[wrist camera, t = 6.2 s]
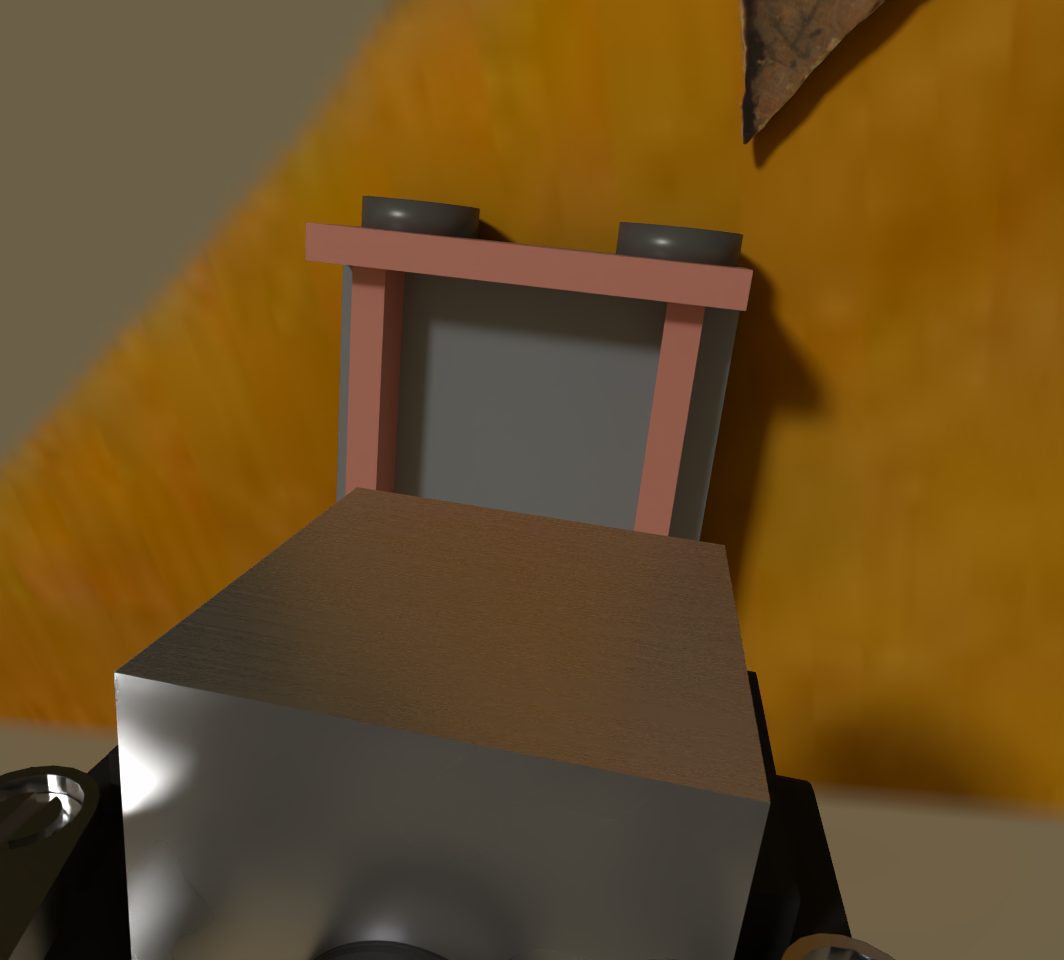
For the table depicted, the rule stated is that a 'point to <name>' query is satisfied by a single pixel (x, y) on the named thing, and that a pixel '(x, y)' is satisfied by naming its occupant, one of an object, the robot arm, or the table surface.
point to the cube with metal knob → (446, 748)
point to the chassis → (533, 365)
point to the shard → (788, 49)
